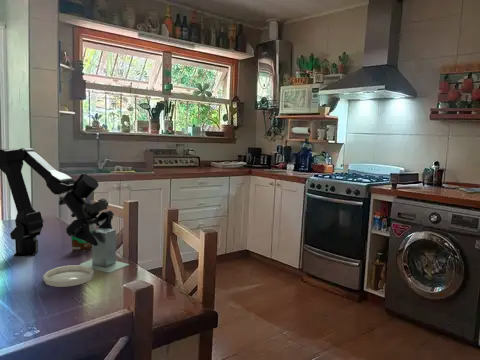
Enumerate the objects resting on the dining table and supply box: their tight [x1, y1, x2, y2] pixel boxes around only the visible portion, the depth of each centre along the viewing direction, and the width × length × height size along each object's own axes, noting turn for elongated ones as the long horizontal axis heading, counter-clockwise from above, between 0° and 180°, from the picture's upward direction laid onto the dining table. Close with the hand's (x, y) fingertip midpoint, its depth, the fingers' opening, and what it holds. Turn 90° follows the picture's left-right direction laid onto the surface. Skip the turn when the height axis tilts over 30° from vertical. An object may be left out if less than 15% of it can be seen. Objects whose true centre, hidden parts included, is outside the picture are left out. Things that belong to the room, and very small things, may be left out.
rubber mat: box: [78, 259, 130, 274], centre depth 134 cm, size 14×9×1 cm, turn 65°
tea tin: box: [91, 228, 117, 268], centre depth 133 cm, size 6×6×12 cm
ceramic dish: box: [42, 264, 95, 288], centre depth 122 cm, size 14×14×2 cm
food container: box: [70, 224, 97, 252], centre depth 153 cm, size 12×6×10 cm, turn 168°
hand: (105, 241), depth 133 cm, fingers open, 9 cm apart
